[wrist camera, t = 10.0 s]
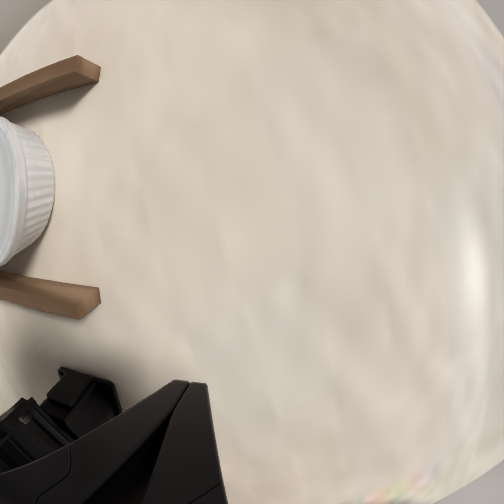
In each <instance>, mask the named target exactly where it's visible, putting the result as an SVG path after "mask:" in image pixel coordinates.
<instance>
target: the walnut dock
mask: <svg viewBox="0 0 504 504" xmlns="http://www.w3.org/2000/svg"><path fill="white" fill-rule="evenodd" d="M100 69H101V67H100V66H98V65H96V64H94V63H92V62H90V61H88V60H86V59H84V58H82V57H80V56H78V55H76V56H73V57H70V58H68V59H65V60H62V61H59V62H57V63H54V64H51V65H49V66H46V67H44V68H41V69H39V70H37V71H34V72H32V73H30V74H28V75H25V76H23V77H21V78H19V79H17V80H15V81H13V82H11V83H9V84H7V85H5V86H3V87H1V88H0V114H2V113H4V112H7V111H9V110H11V109H14V108H16V107H19V106H22V105H24V104H27V103H29V102H32V101H35V100H38V99H41V98H44V97H47V96H50V95H53V94H56V93H59V92H62V91H66V90H69V89H73V88H76V87H80V86H84V85H87V84H91V83H95V82H99V75H100ZM0 299H2V300H5V301H9V302H12V303H16V304H19V305H23V306H26V307H30V308H34V309H38V310H42V311H46V312H50V313H54V314H58V315H63V316H67V317H71V318H76V319H80V318H82V317H83V316H84V315H86V314H87V313H88V312H89V311H91V310H92V309H93V308H95V307H96V306H97V305H99V304H100V303H101V299H100V292H99V288H97V287H89V286H82V285H76V284H69V283H62V282H56V281H50V280H44V279H38V278H32V277H26V276H21V275H15V274H10V273H4V272H0Z"/></svg>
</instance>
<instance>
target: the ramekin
mask: <svg viewBox="0 0 504 504" xmlns="http://www.w3.org/2000/svg"><path fill="white" fill-rule="evenodd" d="M54 196H55V172H54V166H53V161H52V158H51V155H50V153H49V151H48V148H47V146H46V145H45V143H44V141H43V140H42V139H41V138H40V136H38V135H37V134H36V133H35V132H33V131H31V130H29V129H26V128H24V127H21V126H19V125H16V124H14V123H11V122H9V121H8V120H7V119H5V118H4V117H1V116H0V267H1V266H3V265H4V264H6V263H7V262H8V261H9V260H10V259H11V258H12V256H14V255H15V254H17V253H18V252H20V251H21V250H23V249H24V248H26V247H27V246H29V245H31V244H32V243H33V242H34V241H35V240H36V239H37V238H38V237H39V236H40V235H41V234H42V232H43V230H44V229H45V226H46V225H47V223H48V220H49V217H50V214H51V211H52V207H53V202H54Z"/></svg>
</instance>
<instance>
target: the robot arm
mask: <svg viewBox="0 0 504 504" xmlns="http://www.w3.org/2000/svg"><path fill="white" fill-rule="evenodd" d="M58 374H59V376H60V379H61V380H60V381H59V382H58V383H57V384H56V385H55V386H54V387H53V388H52V389H51V390H50V391H49V392H48V393H47V395H46V396H47V398H46V399H45V400H44V401H43V402H42V404H41V405H40V406H39V405H38V404H37V403H36V401H35V399H34V398H33V397H31V398H30V399H29V400H26V399H24V398H21V399H20V400H19V401H18V402H17V403H16V404H15V405H14V406H12V407H11V408H10V409H9V410H8V411H6V412H5V413H4V414H2V415H1V416H0V504H228V501H227V497H226V492H225V487H224V483H223V478H222V472H221V467H220V462H219V456H218V450H217V445H216V439H215V433H214V426H213V420H212V414H211V407H210V400H209V393H208V386H207V384H206V383H199V382H191V383H190V382H189V381H183V380H173V381H171V382H170V383H168V384H167V385H165V386H164V387H162V388H161V389H159V390H158V391H156V392H155V393H153V394H152V395H150V396H148V397H147V398H145V399H144V400H142V401H141V402H139V403H137V404H136V405H134V406H133V407H131V408H129V409H128V410H126V411H125V412H123V413H122V410H121V407H120V403H119V400H118V396H117V393H116V389H115V386H114V384H113V383H112V382H110V381H107V380H103V379H99V378H96V377H92V376H89V375H86V374H82V373H79V372H76V371H73V370H70V369H67V368H64V367H60V368H59V369H58ZM22 420H23V421H24V422H25V423H26V424H25V423H24V422H23V421H22Z"/></svg>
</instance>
